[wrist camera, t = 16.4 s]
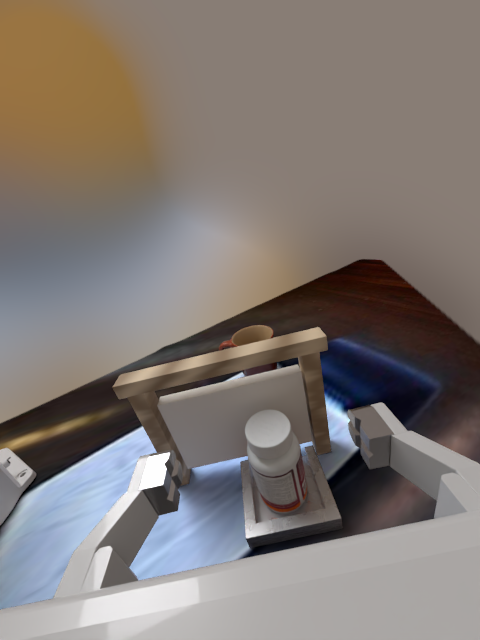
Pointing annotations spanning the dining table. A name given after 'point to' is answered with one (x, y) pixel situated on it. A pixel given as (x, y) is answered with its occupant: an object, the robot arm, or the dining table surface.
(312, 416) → the door frame
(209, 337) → the dining table surface
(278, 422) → the pill bottle
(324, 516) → the keeper
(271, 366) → the mug
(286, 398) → the door
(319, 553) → the robot arm
